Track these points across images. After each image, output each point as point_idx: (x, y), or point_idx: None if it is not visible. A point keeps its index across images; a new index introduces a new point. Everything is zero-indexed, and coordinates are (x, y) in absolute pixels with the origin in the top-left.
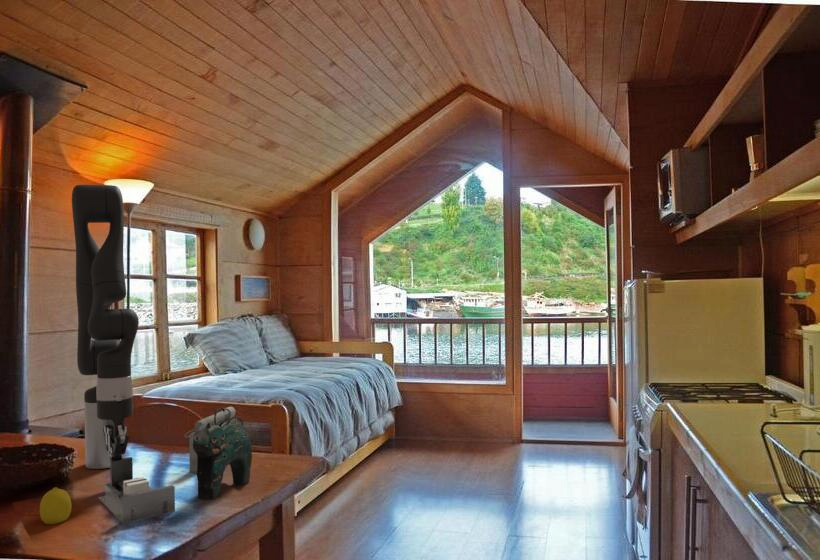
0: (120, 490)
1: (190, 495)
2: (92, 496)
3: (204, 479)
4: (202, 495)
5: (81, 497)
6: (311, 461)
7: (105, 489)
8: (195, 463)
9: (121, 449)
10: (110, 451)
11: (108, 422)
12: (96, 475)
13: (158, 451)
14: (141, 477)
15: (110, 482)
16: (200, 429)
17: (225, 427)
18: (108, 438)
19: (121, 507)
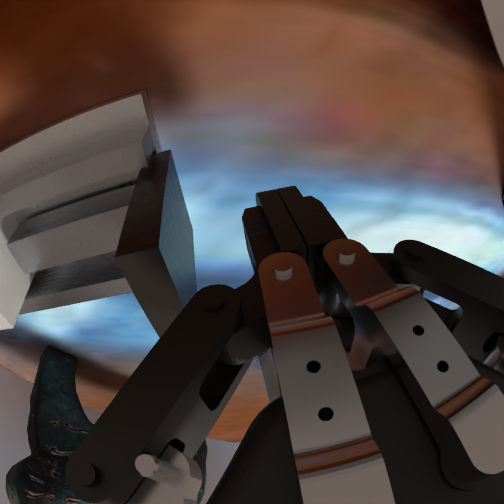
0: (103, 202)
1: (122, 341)
2: (280, 70)
3: (31, 404)
4: (39, 368)
5: (295, 30)
6: (242, 438)
7: (133, 137)
8: (275, 384)
9: (221, 363)
10: (332, 272)
11: (498, 492)
12: (488, 137)
13: (500, 274)
14: (9, 324)
15: (166, 168)
16: None
17: None
18: (339, 398)
19: None
